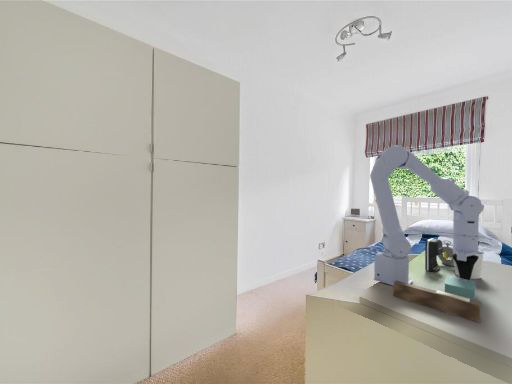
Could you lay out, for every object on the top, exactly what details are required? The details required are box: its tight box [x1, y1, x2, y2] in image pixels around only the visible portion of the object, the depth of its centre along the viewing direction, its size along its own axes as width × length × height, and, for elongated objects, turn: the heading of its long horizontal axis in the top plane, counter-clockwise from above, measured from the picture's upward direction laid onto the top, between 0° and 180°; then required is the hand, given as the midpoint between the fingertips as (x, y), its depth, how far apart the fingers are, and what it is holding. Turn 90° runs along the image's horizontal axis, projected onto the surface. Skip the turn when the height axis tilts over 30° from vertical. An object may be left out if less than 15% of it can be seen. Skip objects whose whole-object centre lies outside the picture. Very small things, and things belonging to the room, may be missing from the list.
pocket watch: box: [437, 240, 455, 267], centre depth 92 cm, size 8×8×10 cm
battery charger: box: [424, 238, 444, 273], centre depth 87 cm, size 7×4×11 cm, turn 127°
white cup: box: [453, 246, 484, 280], centre depth 82 cm, size 8×8×10 cm
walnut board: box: [393, 280, 482, 323], centre depth 62 cm, size 18×2×4 cm, turn 42°
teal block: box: [444, 276, 476, 301], centre depth 66 cm, size 6×7×4 cm
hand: (465, 278), depth 72 cm, fingers closed
